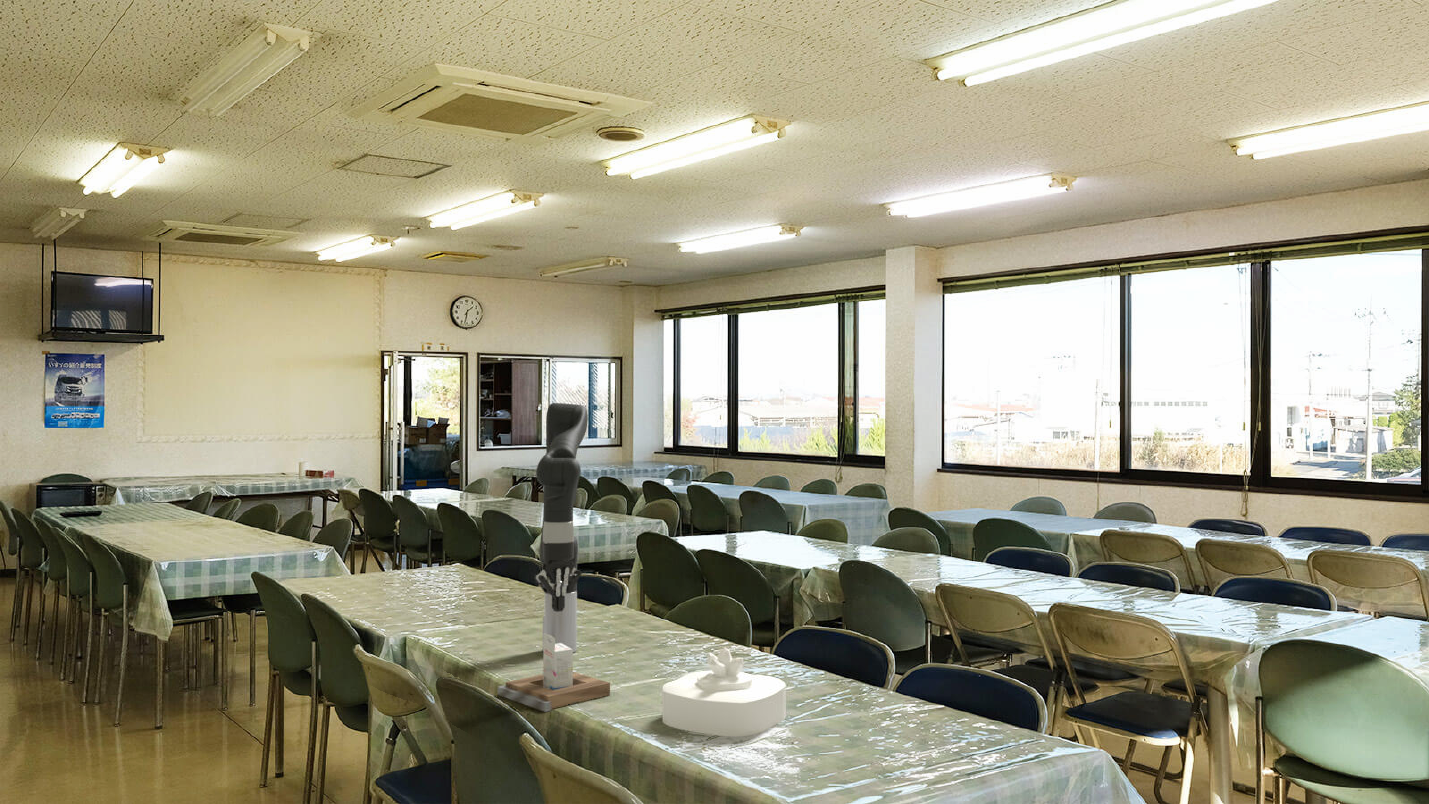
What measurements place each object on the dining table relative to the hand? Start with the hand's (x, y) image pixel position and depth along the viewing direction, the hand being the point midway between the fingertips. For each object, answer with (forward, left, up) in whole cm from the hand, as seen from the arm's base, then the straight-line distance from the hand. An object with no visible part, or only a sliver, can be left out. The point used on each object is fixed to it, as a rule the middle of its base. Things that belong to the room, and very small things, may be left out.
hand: (558, 611), depth 254 cm
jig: (0, 0, -20) cm, 20 cm away
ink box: (0, 0, -21) cm, 21 cm away
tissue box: (+41, +16, -21) cm, 49 cm away
